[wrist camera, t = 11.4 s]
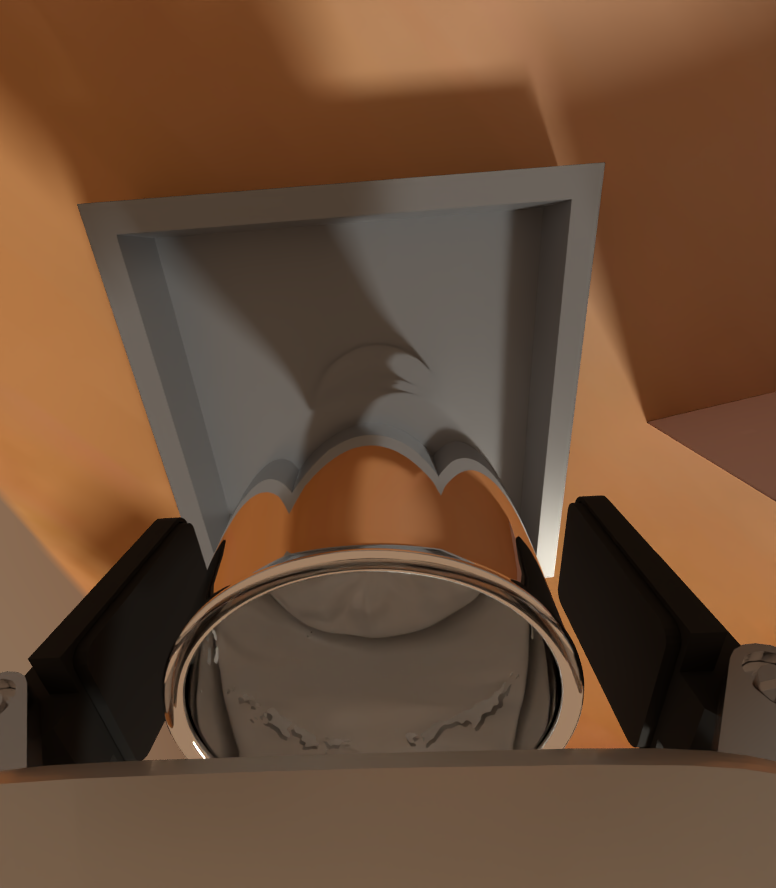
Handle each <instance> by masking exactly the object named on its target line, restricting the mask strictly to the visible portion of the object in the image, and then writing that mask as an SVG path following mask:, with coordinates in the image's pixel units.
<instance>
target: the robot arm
mask: <svg viewBox="0 0 776 888" xmlns="http://www.w3.org/2000/svg"><path fill="white" fill-rule="evenodd" d="M206 572H207V568H206V564H205V561H204V558H203V555H202V552H201V548H200V545H199V542H198V539H197V536H196V533H195V529H194V527H193V525H192V524H191V523H187V521H186V520H185V519H184V518H163V519H157V520H156V521H155V522H154V523H153V524H152V525H151V526H150V527H149V528H148V529H147V530H146V531H145V533H144V534H143V535H142V536H141V537H140V538H139V539H138V540H137V541H136V542H135V543H134V544H133V546H132V547H131V548H130V549H129V550H128V551H127V552H126V553H125V554H124V555H123V556H122V557H121V559H120V560H119V561H118V562H117V563H116V564H115V565H114V566H113V567H112V568H111V569H110V570H109V572H108V573H107V574H106V575H105V576H104V577H103V578H102V579H101V580H100V581H99V582H98V583H97V585H96V586H95V587H94V588H93V589H92V590H91V591H90V592H89V593H88V594H87V595H86V596H85V598H84V599H83V600H82V601H81V602H80V603H79V604H78V605H77V606H76V608H74V610H73V611H72V612H71V613H70V614H69V615H68V616H67V617H66V618H65V619H64V620H63V621H62V623H61V624H60V625H59V626H58V627H57V628H56V629H55V630H54V631H53V632H52V633H51V634H50V636H49V637H48V638H47V639H46V640H45V641H44V642H43V643H42V644H41V645H40V646H39V647H38V649H37V650H36V651H35V652H34V653H33V654H32V655H31V656H30V657H29V658H28V660H29V662H30V663H31V665H32V666H33V667H32V668H31V669H30V670H29V672H28V673H27V674H26V675H25V676H24V675H22V674H21V673H19V672H8V671H7V672H2V673H0V888H776V647H774V646H771V645H764V644H756V643H754V644H745V645H740V644H739V643H738V642H737V641H736V640H735V639H734V637H733V636H732V635H731V634H730V633H729V632H728V631H727V630H726V629H725V628H724V626H723V625H722V624H721V623H720V622H719V621H718V620H717V619H716V618H715V616H714V615H713V614H712V613H711V612H710V611H709V610H708V609H707V608H706V607H705V605H704V604H703V603H702V602H701V601H700V600H699V599H698V598H697V597H696V595H695V594H694V593H693V592H692V591H691V590H690V589H689V588H688V587H687V586H686V584H685V583H684V582H683V581H682V580H681V579H680V578H679V577H678V576H677V574H676V573H675V572H674V571H673V570H672V569H671V568H670V567H669V566H668V565H667V563H666V562H665V561H664V560H663V559H662V558H661V557H660V556H659V555H658V554H657V553H656V552H655V551H654V550H653V548H652V547H651V546H650V545H649V544H648V543H647V542H646V541H645V540H644V538H643V537H642V536H641V535H640V534H639V533H638V532H637V531H636V530H635V529H634V527H633V526H632V525H631V524H630V523H629V522H628V521H627V520H626V519H625V517H624V516H623V515H622V514H621V513H620V512H619V511H618V510H617V509H616V507H615V506H614V505H613V504H612V503H611V502H610V501H609V500H608V499H607V498H606V497H605V496H583V497H578V498H577V499H576V502H575V503H571V504H570V505H569V507H568V514H567V522H566V530H565V537H564V545H563V553H562V561H561V569H560V577H559V585H558V595H559V599H560V603H561V605H562V607H563V609H564V611H565V613H566V615H567V617H568V619H569V621H570V623H571V626H572V628H573V630H574V632H575V634H576V636H577V638H578V640H579V642H580V644H581V646H582V648H583V650H584V652H585V654H586V656H587V658H588V660H589V662H590V664H591V666H592V669H593V671H594V673H595V675H596V677H597V679H598V681H599V683H600V685H601V687H602V689H603V691H604V693H605V695H606V697H607V699H608V701H609V703H610V705H611V707H612V709H613V711H614V714H615V716H616V718H617V720H618V722H619V724H620V726H621V728H622V730H623V732H624V734H625V736H626V738H627V740H628V741H629V743H630V744H631V745H632V746H633V747H639V748H619V749H531V750H486V751H441V752H402V753H365V754H330V755H295V756H261V757H232V758H203V759H177V760H144V761H142V760H143V759H144V758H145V757H146V756H147V755H148V753H149V751H150V750H151V747H152V745H153V743H154V742H155V740H156V737H157V735H158V734H159V731H160V729H161V727H162V725H163V723H164V721H165V717H164V713H163V708H162V702H161V681H162V674H163V670H164V666H165V662H166V659H167V656H168V654H169V651H170V649H171V647H172V645H173V643H174V641H175V640H176V638H177V636H178V635H179V633H180V632H181V630H182V629H183V627H184V624H185V622H186V620H187V618H188V615H189V613H190V611H191V608H192V606H193V604H194V601H195V599H196V596H197V594H198V591H199V589H200V587H201V584H202V582H203V579H204V577H205V574H206Z"/></svg>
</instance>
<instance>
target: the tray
mask: <svg viewBox="0 0 776 888" xmlns="http://www.w3.org/2000/svg"><path fill="white" fill-rule="evenodd" d="M604 168H605V162H604V163H591V164H579V165H566V166H553V167H541V168H528V169H516V170H503V171H490V172H478V173H465V174H452V175H440V176H427V177H414V178H402V179H389V180H376V181H364V182H351V183H338V184H326V185H313V186H300V187H288V188H275V189H262V190H250V191H237V192H224V193H212V194H199V195H186V196H174V197H161V198H148V199H136V200H123V201H110V202H98V203H85V204H77V206H78V209H79V212H80V215H81V218H82V221H83V224H84V227H85V230H86V233H87V236H88V239H89V242H90V245H91V248H92V251H93V254H94V257H95V260H96V263H97V266H98V269H99V272H100V275H101V278H102V281H103V284H104V287H105V290H106V293H107V296H108V299H109V302H110V305H111V308H112V311H113V314H114V317H115V320H116V323H117V326H118V329H119V332H120V335H121V338H122V341H123V344H124V347H125V350H126V353H127V356H128V359H129V362H130V365H131V368H132V371H133V374H134V377H135V380H136V383H137V386H138V389H139V392H140V395H141V398H142V401H143V404H144V407H145V410H146V413H147V416H148V419H149V422H150V425H151V428H152V431H153V435H154V438H155V441H156V444H157V447H158V450H159V453H160V456H161V459H162V462H163V465H164V468H165V471H166V474H167V477H168V480H169V483H170V486H171V489H172V492H173V495H174V498H175V501H176V504H177V507H178V510H179V513H180V516H181V518H184V519H185V520H186V521H187V523H191V524H192V525H193V527H194V529H195V533H196V536H197V539H198V542H199V545H200V548H201V552H202V555H203V558H204V561H205V564H206V568H207V569H208V567H209V564H210V562H211V560H212V558H213V555H214V553H215V551H216V548H217V546H218V544H219V542H220V539H221V537H222V535H223V532H224V530H225V528H226V526H227V524H228V522H229V520H230V518H231V516H232V514H233V512H234V510H235V508H236V506H237V504H238V502H239V500H240V498H241V496H242V495H243V493H244V491H245V489H246V487H247V485H248V484H249V482H250V480H251V479H252V477H253V476H254V474H255V473H256V471H257V470H258V468H259V467H260V465H261V464H262V462H263V461H264V459H265V458H266V456H267V455H268V453H269V452H270V451H271V449H272V448H273V447H274V445H275V444H276V443H277V442H278V441H279V440H280V439H281V438H282V437H283V436H284V435H285V434H286V433H287V432H288V431H289V430H290V429H291V428H292V426H293V425H294V424H295V423H296V422H297V421H299V420H300V419H301V418H302V417H303V416H304V415H306V414H307V413H308V412H309V411H311V410H312V409H313V408H314V407H315V396H316V392H317V388H318V385H319V383H320V380H321V378H322V376H323V375H324V373H325V371H326V370H327V369H328V368H329V366H330V365H331V364H332V363H333V362H334V361H335V360H336V359H338V358H339V357H340V356H342V355H343V354H345V353H347V352H349V351H351V350H353V349H356V348H359V347H363V346H369V345H387V346H393V347H397V348H400V349H403V350H405V351H407V352H409V353H411V354H412V355H414V356H415V357H417V358H418V359H419V360H421V361H422V362H423V363H424V364H425V365H426V366H427V368H428V369H429V370H430V372H431V373H432V375H433V376H434V378H435V380H436V382H437V385H438V388H439V392H440V396H441V409H442V410H443V411H445V412H446V413H447V414H448V415H449V416H450V417H452V418H453V419H454V420H455V421H456V422H457V423H458V424H459V425H460V426H461V427H462V428H463V429H464V430H465V431H466V433H467V434H468V435H469V436H470V437H471V438H472V439H473V440H474V441H475V442H476V444H477V445H478V446H479V447H480V448H481V450H482V451H483V452H484V454H485V455H486V457H487V458H488V460H489V462H490V463H491V465H492V466H493V468H494V470H495V471H496V473H497V474H498V476H499V478H500V479H501V481H502V482H503V484H504V486H505V488H506V489H507V491H508V493H509V496H510V498H511V500H512V502H513V504H514V506H515V508H516V510H517V512H518V514H519V516H520V518H521V520H522V523H523V525H524V527H525V529H526V532H527V534H528V536H529V539H530V541H531V544H532V546H533V549H534V551H535V554H536V556H537V559H538V561H539V564H540V566H541V569H542V571H543V574H544V577H554V570H555V562H556V554H557V546H558V538H559V530H560V522H561V514H562V506H563V498H564V490H565V482H566V474H567V465H568V457H569V449H570V441H571V433H572V425H573V417H574V409H575V401H576V393H577V385H578V377H579V369H580V361H581V353H582V345H583V337H584V329H585V321H586V313H587V304H588V296H589V288H590V280H591V272H592V264H593V256H594V248H595V240H596V232H597V224H598V216H599V208H600V200H601V192H602V184H603V176H604Z"/></svg>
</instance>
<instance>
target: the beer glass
mask: <svg viewBox="0 0 776 888" xmlns="http://www.w3.org/2000/svg"><path fill="white" fill-rule="evenodd" d="M583 699H584V676H583V670H582V666H581V662H580V658H579V655H578V652H577V650H576V647H575V645H574V643H573V641H572V639H571V638H570V636H569V634H568V633H567V631H566V630H565V628H564V625H563V623H562V621H561V618H560V616H559V613H558V611H557V608H556V606H555V603H554V601H553V598H552V595H551V593H550V590H549V587H548V585H547V582H546V579H545V577H544V574H543V571H542V569H541V566H540V564H539V561H538V559H537V556H536V554H535V551H534V549H533V546H532V544H531V541H530V539H529V536H528V534H527V532H526V529H525V527H524V525H523V523H522V520H521V518H520V516H519V514H518V512H517V510H516V508H515V506H514V504H513V502H512V500H511V498H510V496H509V493H508V491H507V489H506V488H505V486H504V484H503V482H502V481H501V479H500V478H499V476H498V474H497V473H496V471H495V470H494V468H493V466H492V465H491V463H490V462H489V460H488V458H487V457H486V455H485V454H484V452H483V451H482V450H481V448H480V447H479V446H478V445H477V444H476V442H475V441H474V440H473V439H472V438H471V437H470V436H469V435H468V434H467V433H466V431H465V430H464V429H463V428H462V427H461V426H460V425H459V424H458V423H457V422H456V421H455V420H454V419H453V418H452V417H450V416H449V415H448V414H447V413H446V412H445V411H443V410H442V409H441V396H440V392H439V388H438V385H437V382H436V380H435V378H434V376H433V375H432V373H431V372H430V370H429V369H428V368H427V366H426V365H425V364H424V363H423V362H422V361H421V360H419V359H418V358H417V357H415V356H414V355H412V354H411V353H409V352H407V351H405V350H403V349H400V348H397V347H393V346H387V345H369V346H363V347H359V348H356V349H353V350H351V351H349V352H347V353H345V354H343V355H342V356H340V357H339V358H338V359H336V360H335V361H334V362H333V363H332V364H331V365H330V366H329V368H328V369H327V370H326V371H325V373H324V375H323V376H322V378H321V380H320V383H319V385H318V388H317V392H316V396H315V407H314V408H313V409H312V410H311V411H309V412H308V413H307V414H306V415H304V416H303V417H302V418H301V419H300V420H299V421H297V422H296V423H295V424H294V425H293V426H292V428H291V429H290V430H289V431H288V432H287V433H286V434H285V435H284V436H283V437H282V438H281V439H280V440H279V441H278V442H277V443H276V444H275V445H274V447H273V448H272V449H271V451H270V452H269V453H268V455H267V456H266V458H265V459H264V461H263V462H262V464H261V465H260V467H259V468H258V470H257V471H256V473H255V474H254V476H253V477H252V479H251V480H250V482H249V484H248V485H247V487H246V489H245V491H244V493H243V495H242V496H241V498H240V500H239V502H238V504H237V506H236V508H235V510H234V512H233V514H232V516H231V518H230V520H229V522H228V524H227V526H226V528H225V530H224V532H223V535H222V537H221V539H220V542H219V544H218V546H217V548H216V551H215V553H214V555H213V558H212V560H211V562H210V564H209V567H208V569H207V572H206V574H205V577H204V579H203V582H202V584H201V587H200V589H199V591H198V594H197V596H196V599H195V601H194V604H193V606H192V608H191V611H190V613H189V615H188V618H187V620H186V622H185V624H184V627H183V629H182V630H181V632H180V633H179V635H178V636H177V638H176V640H175V641H174V643H173V645H172V647H171V649H170V651H169V654H168V656H167V659H166V662H165V666H164V670H163V674H162V681H161V702H162V708H163V713H164V717H165V721H166V724H167V726H168V729H169V731H170V733H171V735H172V737H173V739H174V741H175V743H176V744H177V746H178V747H179V749H180V751H181V752H182V753H183V755H184V756H185V757H186V758H187V759H203V758H232V757H261V756H295V755H330V754H365V753H402V752H441V751H486V750H531V749H564V747H565V746H566V744H567V743H568V741H569V739H570V738H571V736H572V734H573V732H574V730H575V728H576V726H577V723H578V720H579V717H580V714H581V710H582V705H583Z"/></svg>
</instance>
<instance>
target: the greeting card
mask: <svg viewBox="0 0 776 888" xmlns="http://www.w3.org/2000/svg"><path fill="white" fill-rule="evenodd" d="M647 423H648V424H650V425H652V426H653V427H655V428H657V429H658V430H660V431H662V432H663V433H665V434H666V435H668V436H670V437H671V438H673V439H675V440H676V441H678V442H680V443H681V444H683V445H684V446H686V447H688V448H689V449H691V450H693V451H694V452H696V453H698V454H699V455H701V456H702V457H704V458H706V459H707V460H709V461H711V462H712V463H714V464H716V465H717V466H719V467H720V468H722V469H724V470H725V471H727V472H729V473H730V474H732V475H734V476H735V477H737V478H738V479H740V480H742V481H743V482H745V483H747V484H748V485H750V486H752V487H753V488H755V489H756V490H758V491H760V492H761V493H763V494H765V495H766V496H768V497H770V498H771V499H773V500H774V501H776V392H773V393H768V394H764V395H760V396H756V397H751V398H747V399H743V400H739V401H735V402H730V403H726V404H722V405H718V406H713V407H709V408H705V409H701V410H696V411H692V412H688V413H684V414H679V415H675V416H671V417H667V418H662V419H658V420H654V421H650V422H647Z"/></svg>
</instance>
